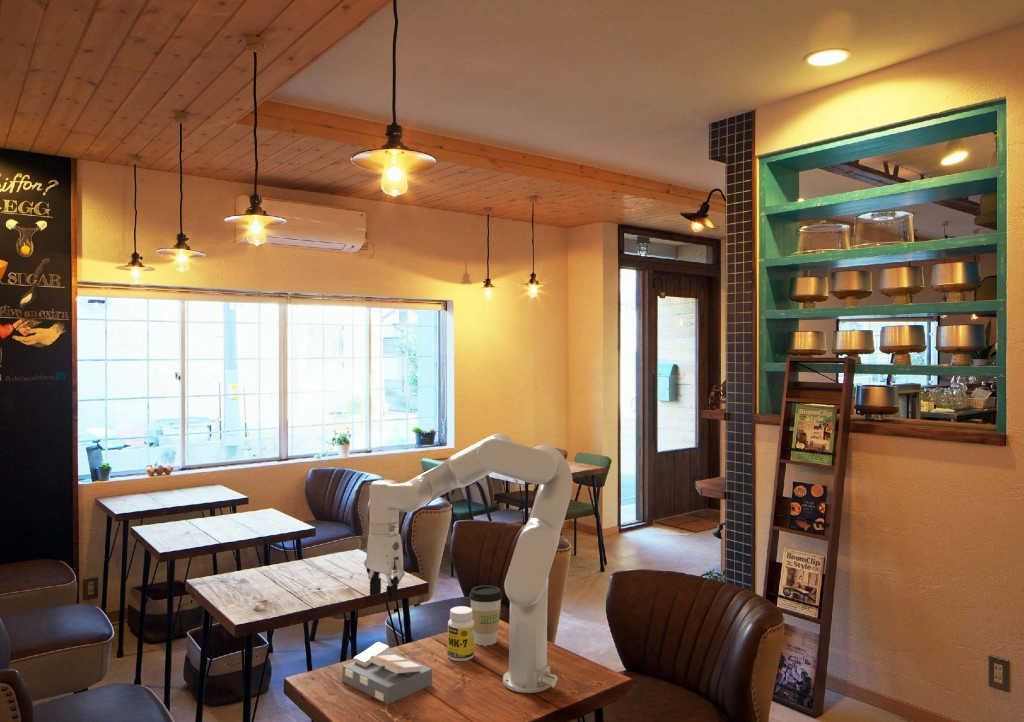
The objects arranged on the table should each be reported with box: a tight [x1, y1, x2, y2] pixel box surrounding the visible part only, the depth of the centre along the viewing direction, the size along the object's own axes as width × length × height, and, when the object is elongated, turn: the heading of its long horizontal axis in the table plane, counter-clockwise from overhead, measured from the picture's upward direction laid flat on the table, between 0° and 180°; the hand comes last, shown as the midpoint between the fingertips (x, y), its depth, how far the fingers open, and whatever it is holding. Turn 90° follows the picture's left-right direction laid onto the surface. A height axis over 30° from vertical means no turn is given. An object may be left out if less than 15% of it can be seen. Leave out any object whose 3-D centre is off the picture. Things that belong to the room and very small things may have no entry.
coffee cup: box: [468, 584, 504, 647], centre depth 206 cm, size 10×10×15 cm
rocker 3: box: [385, 661, 422, 673], centre depth 175 cm, size 4×8×1 cm, turn 139°
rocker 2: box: [370, 655, 406, 666], centre depth 179 cm, size 4×8×1 cm, turn 139°
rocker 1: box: [353, 641, 391, 667], centre depth 182 cm, size 4×8×1 cm, turn 139°
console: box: [341, 650, 433, 705], centre depth 179 cm, size 18×14×5 cm
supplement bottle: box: [446, 605, 475, 662], centre depth 195 cm, size 7×7×13 cm
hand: (383, 596), depth 185 cm, fingers open, 6 cm apart
